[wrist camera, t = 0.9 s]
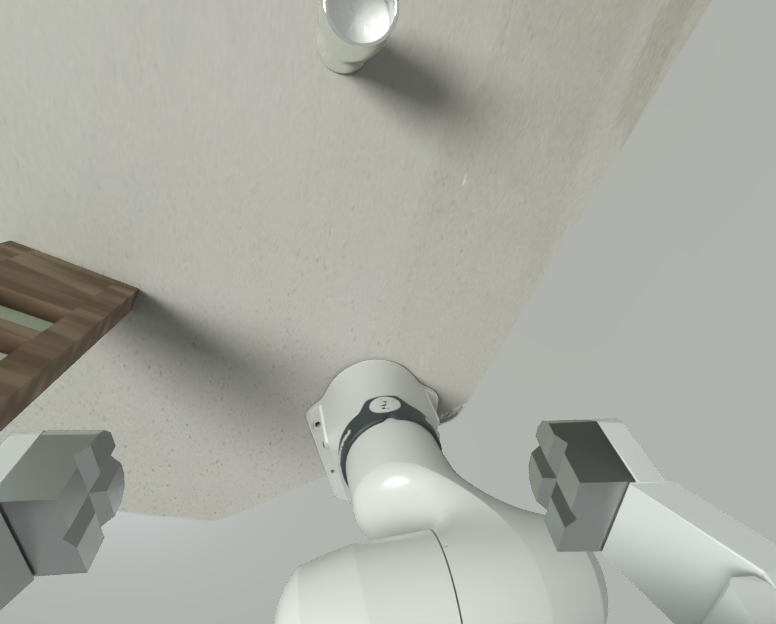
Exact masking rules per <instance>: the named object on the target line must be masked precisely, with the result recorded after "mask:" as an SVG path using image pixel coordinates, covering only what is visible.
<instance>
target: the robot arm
mask: <svg viewBox="0 0 776 624" xmlns="http://www.w3.org/2000/svg"><path fill="white" fill-rule="evenodd" d="M438 400H439V399H438V396H437V393H436V392H435V391H434V390H432V389H431V388H429V387H426V386H424V385H422V384H421V383H419V382H418V381H417V379H416V378H415V377H414V376H413V375H412V374H411V373H410V372H409V371H408V370H407V369H406V368H404V367H403V366H401V365H399V364H397V363H394V362H391V361H387V360H367V361H363V362H359V363H357V364H354V365H352V366H350V367H348V368H347V369H345V370H344V371H342V372H341V373H340V374H339V375H338V376H337V377H336V378H335V379H334V380H333V381H332V382H331V384H330V385H329V387H328V389H327V390H326V392H325V394H324V396H323V397H322V398H321V399H320V400H319V401H318V402H317V403H315V404H314V405H313V406H312V407H311V408H310V409H309V410H308V411H307V413H306V418H307V422H308V424H309V427H310V430H311V433H312V435H313V438H314V441H315V444H316V446H317V449H318V452H319V455H320V457H321V460H322V463H323V466H324V468H325V471H326V474H327V477H328V479H329V482H330V485H331V488H332V490H333V493H334V495H335V497H336V498H338V499H340V500H343V501H347V502H349V503H350V504H351V505H352V508H353V513H354V517H355V520H356V522H357V524H358V526H359V527H360V529H361V530H362V531H363V533H364V534H365V535H366V536H367V537H368V538H369V540H370V541H365V542H360V543H354V544H351V545H348V546H345V547H343V548H340V549H338V550H335V551H333V552H330V553H327V554H325V555H323V556H320V557H318V558H316V559H314V560H311V561H309V562H307V563H305V564H302V565H300V566H298V567H297V569H296V570H295V572H294V573H293V574H292V576H291V578H290V579H289V581H288V582H287V584H286V586H285V588H284V590H283V592H282V595H281V598H280V600H279V604H278V607H277V611H276V617H275V622H274V624H606V620H607V615H608V596H607V588H606V583H605V579H604V575H603V572H602V570H601V567H600V565H599V562H598V561H597V558H596V557H595V555H594V553H593V551H602V555H603V556H604V557H606V558H607V559H608V560H609V561H610V562H611V563H612V564H613V565H614V566H615V567H616V568H617V569H618V570H619V571H620V572H621V573H622V574H623V575H624V576H625V577H626V578H628V580H630V581H631V582H632V583H633V584H634V585H635V586H636V587H637V588H638V589H639V590H640V591H641V592H642V593H643V594H644V595H645V596H646V597H647V598H648V599H649V600H650V601H652V603H653V604H655V605H656V606H657V607H658V608H659V609H660V610H661V611H662V612H663V613H664V614H665V615H666V616H667V617H668V618H669V619H670V620H671V621H672V622H673V623H674V624H776V545H775V544H774V543H772V542H771V541H769V540H767V539H766V538H764V537H763V536H761V535H759V534H758V533H756V532H754V531H753V530H751V529H750V528H748V527H746V526H745V525H743V524H741V523H740V522H738V521H736V520H735V519H733V518H731V517H730V516H728V515H727V514H725V513H724V512H722V511H720V510H719V509H717V508H715V507H714V506H712V505H711V504H709V503H707V502H706V501H704V500H703V499H701V498H699V497H698V496H696V495H694V494H693V493H691V492H690V491H688V490H686V489H685V488H683V487H681V486H680V485H678V484H677V483H675V482H666V481H665V480H664V479H663V477H662V476H661V475H660V473H659V472H658V470H657V469H656V468H655V466H654V465H653V464H652V462H651V461H650V459H649V458H648V457H647V455H646V454H645V453H644V451H643V450H642V448H641V447H640V446H639V444H638V443H637V441H636V440H635V439H634V437H633V436H632V435H631V433H630V432H629V430H628V429H627V428H626V426H625V425H624V424H623V422H621V421H620V420H618V419H617V418H614V419H592V420H560V421H542V422H541V424H540V425H539V426H538V429H537V433H536V438H537V440H538V442H539V444H540V446H539V447H538V448H536V449H535V450H534V451H533V452H532V453H531V458H530V463H529V479H530V484H531V488H532V491H533V494H534V496H535V499H536V501H537V502H538V503H539V504H541V505H542V506H543V507H544V508H546V509H547V513H546V515H543V514H539V513H534V512H530V511H527V510H523V509H520V508H517V507H514V506H512V505H509V504H507V503H505V502H503V501H500V500H498V499H495V498H494V497H492V496H490V495H488V494H486V493H484V492H483V491H481V490H480V489H478V488H476V487H474V486H473V485H471V484H470V483H468V482H467V481H466V480H464V479H463V478H461V477H460V476H459V475H458V474H457V473H456V472H455V471H454V470H453V469H452V467H451V465H450V464H449V462H448V461H447V459H446V458H445V456H444V455H443V453H442V449H441V444H440V441H439V432H437V426H438V425H439V424H440V422H439V418H438V416H437V414H436V413H437V407H438ZM316 422H320V424H319V425H316V424H315V423H316ZM114 448H115V443H114V440H113V438H112V435H111V432H108V431H105V430H48V431H17V432H15V433H13V434H11V435H9V436H8V438H7V439H6V440H5V441H4V442H3V443H2V445H1V446H0V610H1V609H2V608H3V607H5V606H6V605H7V604H8V603H9V602H10V601H11V600H12V599H13V598H14V597H15V596H17V594H19V593H20V592H21V591H22V590H23V589H24V588H25V587H26V586H28V585H29V584H30V583H31V582H32V581H33V580H34V577H33V576H46V575H60V574H74V573H87V572H88V570H89V568H90V566H91V564H92V562H93V560H94V558H95V556H96V554H97V552H98V550H99V547H100V546H101V544H102V541H103V539H104V535H103V532H102V530H101V526H102V525H103V524H105V523H106V522H107V521H109V520H110V519H111V518H113V517H114V516H115V514H116V512H117V510H118V508H119V506H120V503H121V501H122V496H123V491H124V486H125V484H124V472H123V469H122V465H121V463H120V462H118V461H117V460H116V459H114V458H113V457H112V456H110V455H111V453H112V451H113V450H114Z"/></svg>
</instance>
